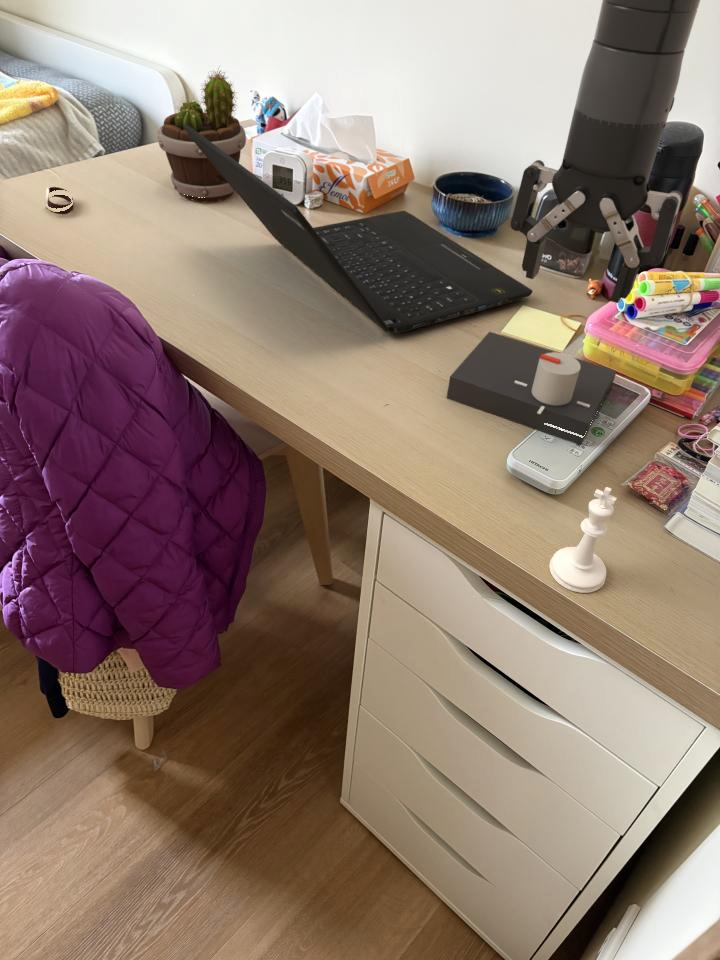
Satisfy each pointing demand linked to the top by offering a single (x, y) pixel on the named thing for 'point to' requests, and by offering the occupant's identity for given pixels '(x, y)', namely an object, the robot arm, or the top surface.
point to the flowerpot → (215, 125)
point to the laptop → (376, 257)
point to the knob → (555, 378)
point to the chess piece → (585, 550)
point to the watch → (57, 204)
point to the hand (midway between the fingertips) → (573, 287)
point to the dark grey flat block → (527, 387)
